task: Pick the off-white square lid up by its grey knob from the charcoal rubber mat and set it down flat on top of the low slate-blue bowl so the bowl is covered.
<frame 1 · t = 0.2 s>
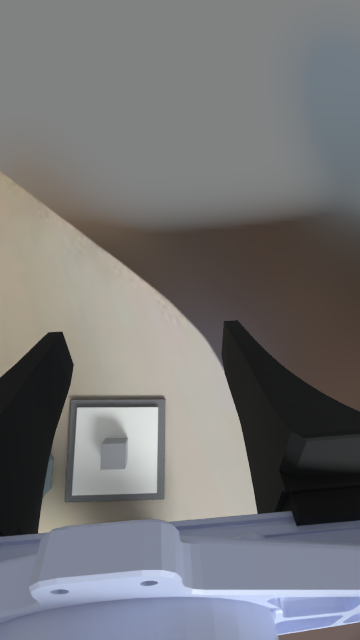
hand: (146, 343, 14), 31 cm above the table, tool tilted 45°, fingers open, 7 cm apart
lid: (117, 448, 41), resting on mat
mat: (117, 447, 41), on the table
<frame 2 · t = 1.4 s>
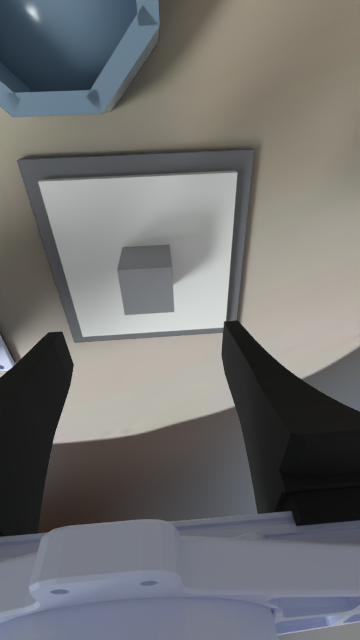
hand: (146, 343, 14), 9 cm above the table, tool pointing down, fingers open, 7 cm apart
lid: (148, 263, 20), resting on mat
mat: (148, 260, 21), on the table
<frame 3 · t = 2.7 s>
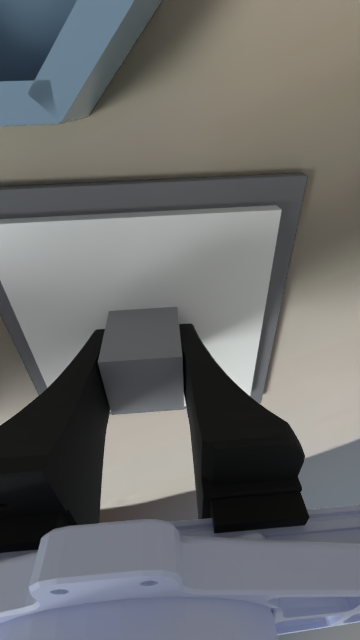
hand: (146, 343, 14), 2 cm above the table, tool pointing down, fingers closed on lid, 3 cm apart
lid: (146, 327, 15), resting on mat, touching gripper
mat: (146, 321, 15), on the table
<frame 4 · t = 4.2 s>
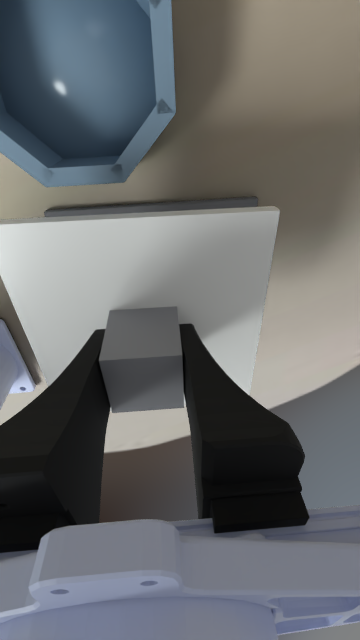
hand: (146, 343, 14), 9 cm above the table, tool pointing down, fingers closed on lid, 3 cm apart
lid: (146, 326, 15), point 8 cm above the table, touching gripper
bowl: (77, 69, 15), on the table
mat: (160, 292, 22), on the table
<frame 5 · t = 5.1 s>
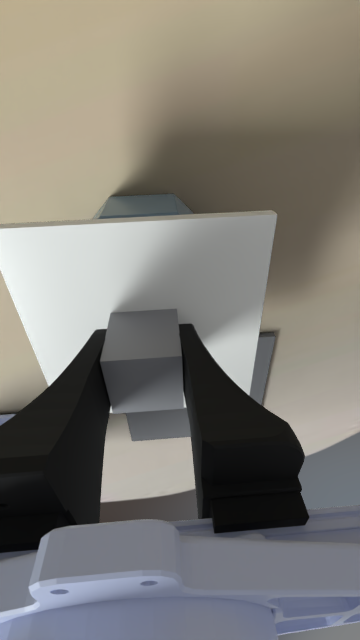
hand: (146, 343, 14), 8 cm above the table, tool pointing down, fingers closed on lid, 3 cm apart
lid: (147, 329, 15), point 7 cm above the table, touching gripper
bowl: (148, 266, 20), on the table
mat: (193, 391, 28), on the table
when the fingers open (6 cm above the table, at t = 5.8 s): lid stays where it is, resting on bowl.
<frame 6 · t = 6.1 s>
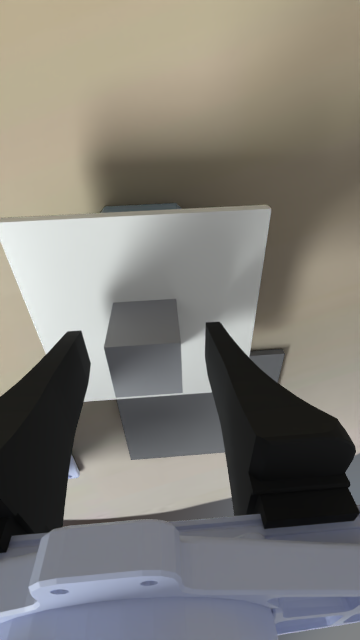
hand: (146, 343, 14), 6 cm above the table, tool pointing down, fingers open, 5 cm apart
lid: (147, 318, 16), point 4 cm above the table, touching bowl
bowl: (148, 280, 18), on the table
mat: (196, 409, 26), on the table
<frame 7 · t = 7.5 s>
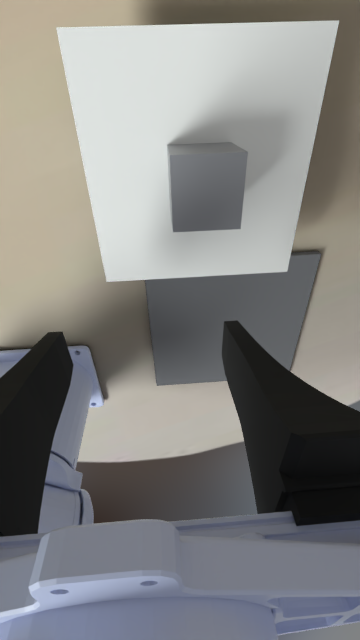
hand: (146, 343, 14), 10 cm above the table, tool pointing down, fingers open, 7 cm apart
lid: (197, 175, 15), point 4 cm above the table, touching bowl
mat: (226, 325, 26), on the table
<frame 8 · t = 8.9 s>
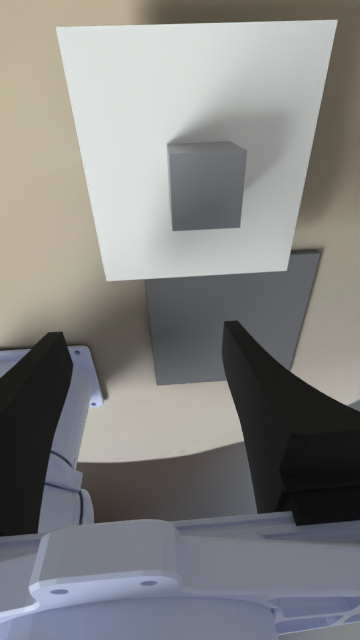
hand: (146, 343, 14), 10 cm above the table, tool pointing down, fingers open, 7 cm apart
lid: (196, 175, 15), point 4 cm above the table, touching bowl
mat: (225, 325, 26), on the table
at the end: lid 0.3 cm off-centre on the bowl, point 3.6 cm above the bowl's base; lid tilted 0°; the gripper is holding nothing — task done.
